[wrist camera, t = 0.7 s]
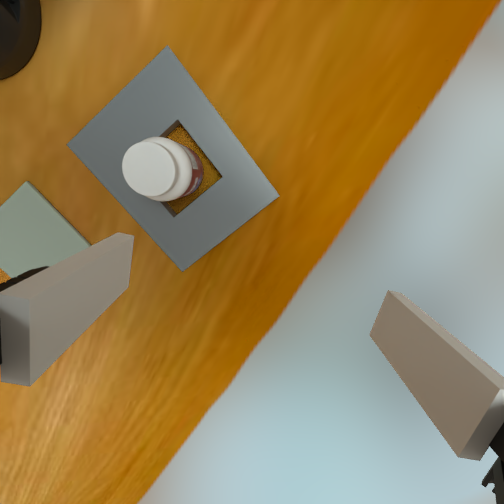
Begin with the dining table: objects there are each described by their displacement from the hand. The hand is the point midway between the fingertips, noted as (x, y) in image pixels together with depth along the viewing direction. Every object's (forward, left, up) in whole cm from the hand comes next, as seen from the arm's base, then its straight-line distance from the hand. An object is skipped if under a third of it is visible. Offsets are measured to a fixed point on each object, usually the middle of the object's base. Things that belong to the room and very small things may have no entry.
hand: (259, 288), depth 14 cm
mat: (-16, -26, -23) cm, 38 cm away
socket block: (-11, -4, -23) cm, 26 cm away
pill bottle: (-11, -4, -23) cm, 26 cm away
